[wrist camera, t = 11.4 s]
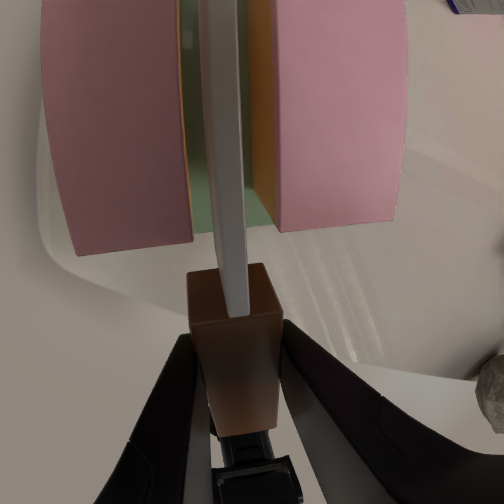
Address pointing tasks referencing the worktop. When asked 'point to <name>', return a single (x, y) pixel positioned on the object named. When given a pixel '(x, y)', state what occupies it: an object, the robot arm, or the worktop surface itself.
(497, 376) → the rock
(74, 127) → the cake slice
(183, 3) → the cake stand
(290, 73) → the cake
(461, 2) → the supplement box
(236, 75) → the cake knife
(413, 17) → the worktop surface
